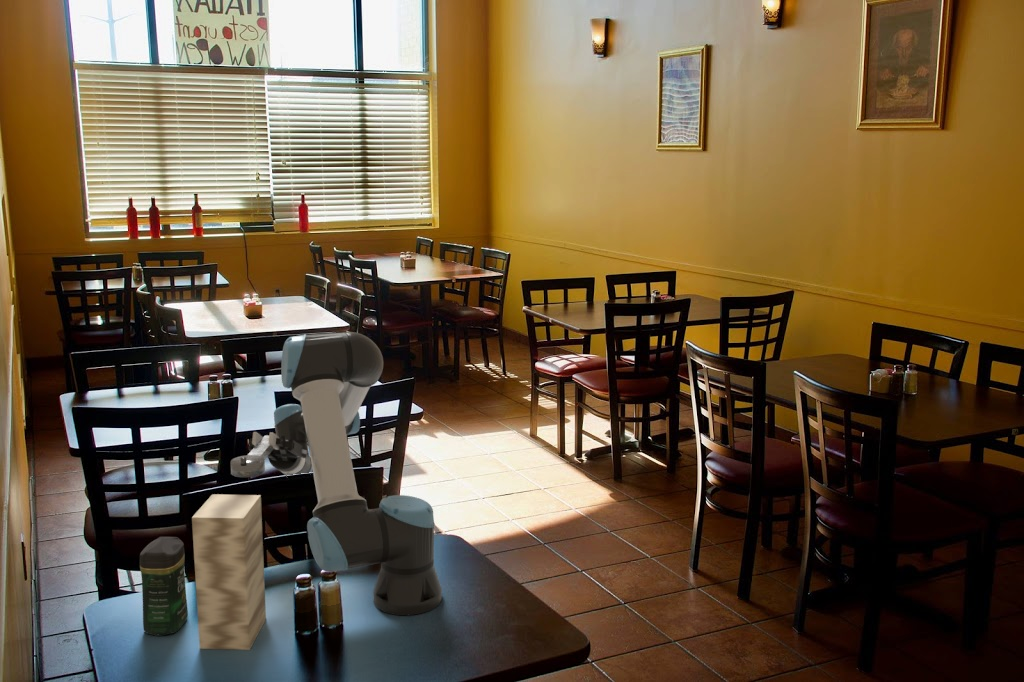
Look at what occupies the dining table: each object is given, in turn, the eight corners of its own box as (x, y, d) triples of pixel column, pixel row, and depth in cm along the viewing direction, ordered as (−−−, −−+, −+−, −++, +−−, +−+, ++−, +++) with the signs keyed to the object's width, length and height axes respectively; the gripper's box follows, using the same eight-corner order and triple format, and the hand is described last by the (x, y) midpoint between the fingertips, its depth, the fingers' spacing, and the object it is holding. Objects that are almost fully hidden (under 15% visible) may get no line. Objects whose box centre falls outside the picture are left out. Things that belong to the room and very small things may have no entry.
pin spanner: (256, 443, 214) (256, 426, 213) (286, 443, 214) (285, 427, 213) (226, 477, 192) (225, 458, 191) (259, 477, 192) (258, 459, 191)
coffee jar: (177, 637, 185) (172, 553, 182) (138, 637, 185) (132, 552, 181) (193, 613, 195) (188, 533, 191) (156, 613, 195) (150, 532, 191)
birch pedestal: (266, 619, 193) (260, 495, 187) (249, 649, 181) (243, 518, 176) (219, 618, 193) (212, 494, 187) (199, 648, 181) (191, 517, 176)
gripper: (317, 472, 227) (296, 454, 205) (253, 471, 227) (225, 453, 205) (319, 443, 229) (299, 422, 207) (256, 441, 230) (228, 421, 207)
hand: (262, 437), depth 206 cm, fingers closed on pin spanner, 3 cm apart
